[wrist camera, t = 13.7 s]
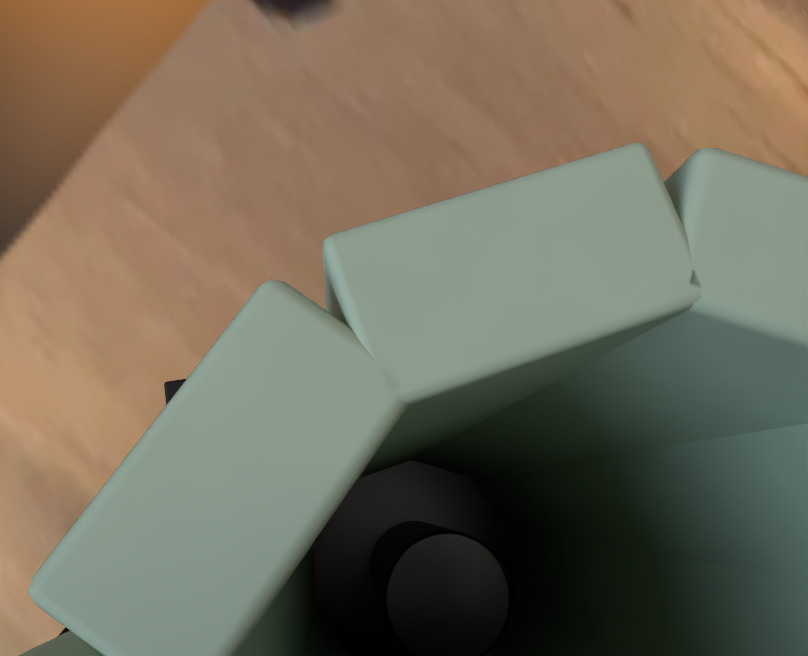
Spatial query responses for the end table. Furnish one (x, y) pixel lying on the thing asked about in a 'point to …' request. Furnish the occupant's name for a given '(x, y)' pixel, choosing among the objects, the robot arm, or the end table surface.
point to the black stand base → (413, 564)
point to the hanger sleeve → (493, 424)
